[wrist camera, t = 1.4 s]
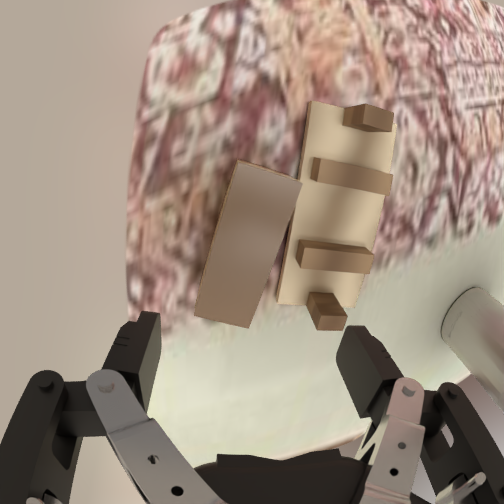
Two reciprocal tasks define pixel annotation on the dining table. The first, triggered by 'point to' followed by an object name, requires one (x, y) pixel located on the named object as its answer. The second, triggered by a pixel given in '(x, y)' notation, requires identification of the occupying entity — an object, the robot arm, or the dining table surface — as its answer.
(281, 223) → the brown rectangular box
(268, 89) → the dining table surface
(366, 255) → the display cradle
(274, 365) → the dining table surface
